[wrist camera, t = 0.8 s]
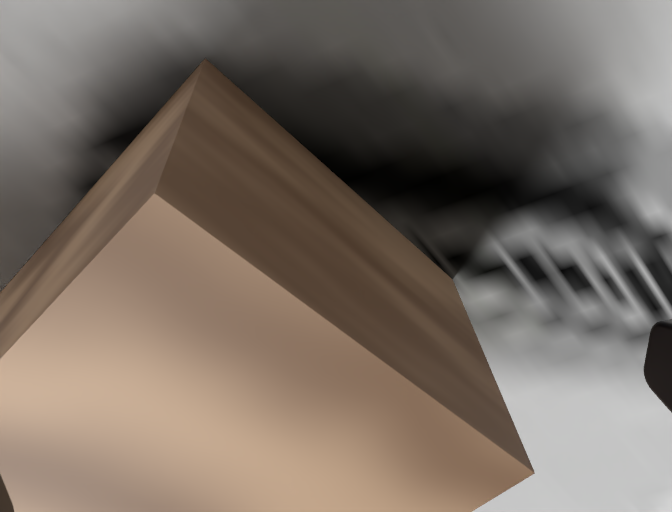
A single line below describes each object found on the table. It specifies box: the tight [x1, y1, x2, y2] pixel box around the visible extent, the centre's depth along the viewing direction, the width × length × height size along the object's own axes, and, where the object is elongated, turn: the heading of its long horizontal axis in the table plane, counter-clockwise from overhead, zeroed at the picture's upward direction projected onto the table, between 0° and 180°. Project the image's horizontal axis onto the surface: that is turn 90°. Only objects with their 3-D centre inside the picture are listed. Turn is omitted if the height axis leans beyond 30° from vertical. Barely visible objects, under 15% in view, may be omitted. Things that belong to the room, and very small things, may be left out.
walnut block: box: [0, 58, 534, 512], centre depth 19 cm, size 14×12×9 cm
